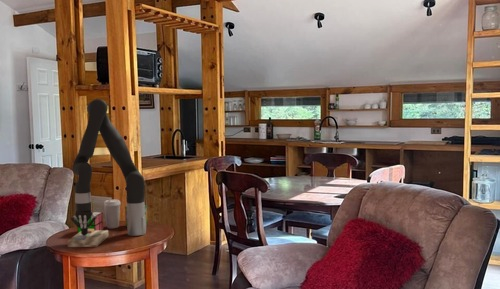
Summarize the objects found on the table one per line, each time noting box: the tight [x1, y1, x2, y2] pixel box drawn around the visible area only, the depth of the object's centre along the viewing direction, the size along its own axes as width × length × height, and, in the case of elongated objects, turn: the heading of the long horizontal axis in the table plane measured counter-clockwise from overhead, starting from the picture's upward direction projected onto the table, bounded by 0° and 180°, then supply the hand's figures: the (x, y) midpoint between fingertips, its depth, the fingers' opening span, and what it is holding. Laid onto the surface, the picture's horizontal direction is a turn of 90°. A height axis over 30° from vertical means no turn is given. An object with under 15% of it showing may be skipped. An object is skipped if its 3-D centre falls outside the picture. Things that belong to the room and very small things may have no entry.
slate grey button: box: [75, 235, 86, 240], centre depth 209 cm, size 4×4×2 cm
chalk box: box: [124, 204, 148, 227], centre depth 244 cm, size 9×9×15 cm
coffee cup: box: [103, 198, 122, 229], centre depth 241 cm, size 10×10×15 cm
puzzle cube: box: [77, 211, 104, 234], centre depth 231 cm, size 10×10×10 cm
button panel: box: [67, 229, 109, 248], centre depth 215 cm, size 14×18×3 cm
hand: (84, 235), depth 215 cm, fingers closed
